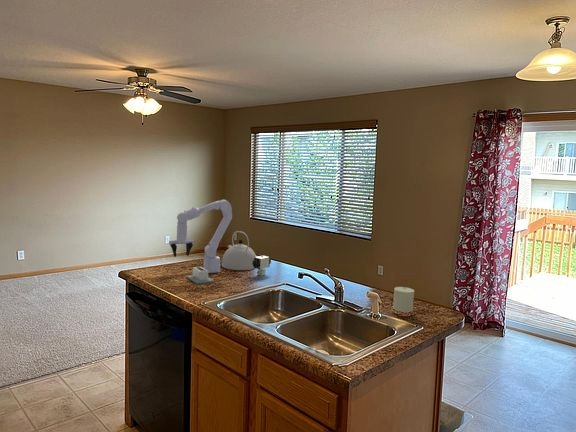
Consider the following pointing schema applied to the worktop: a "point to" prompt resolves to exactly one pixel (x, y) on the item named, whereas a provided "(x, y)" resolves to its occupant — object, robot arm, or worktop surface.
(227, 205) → the robot arm
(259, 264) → the pneumatic valve
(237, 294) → the worktop surface
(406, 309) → the can
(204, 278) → the block
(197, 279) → the board
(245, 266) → the kettle
